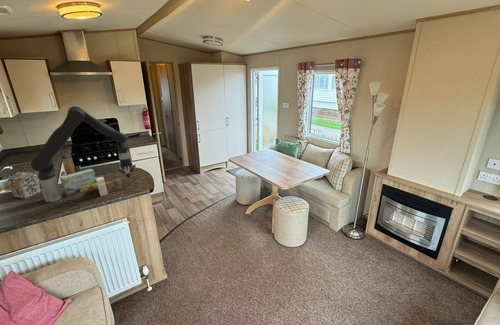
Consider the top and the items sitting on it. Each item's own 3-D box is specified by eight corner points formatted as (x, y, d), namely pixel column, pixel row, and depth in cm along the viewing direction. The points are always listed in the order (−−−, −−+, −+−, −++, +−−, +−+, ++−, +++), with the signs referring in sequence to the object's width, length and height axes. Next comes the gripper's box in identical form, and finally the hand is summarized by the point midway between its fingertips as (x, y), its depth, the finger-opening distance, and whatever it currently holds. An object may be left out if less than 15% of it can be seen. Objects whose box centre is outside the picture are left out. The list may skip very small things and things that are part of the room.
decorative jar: (25, 198, 173) (17, 176, 167) (13, 197, 175) (4, 175, 169) (42, 191, 184) (34, 170, 178) (30, 189, 186) (22, 168, 180)
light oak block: (107, 192, 182) (106, 186, 180) (106, 188, 189) (104, 182, 187) (124, 188, 189) (123, 182, 187) (123, 184, 195) (121, 178, 193)
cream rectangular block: (100, 196, 177) (97, 185, 173) (98, 188, 189) (96, 178, 185) (108, 194, 179) (105, 183, 176) (105, 186, 191) (103, 176, 188)
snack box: (67, 197, 176) (61, 178, 170) (64, 194, 179) (59, 176, 173) (98, 186, 191) (93, 169, 186) (95, 184, 195) (90, 167, 189)
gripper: (116, 160, 180) (120, 181, 187) (134, 157, 187) (138, 177, 194) (114, 157, 186) (118, 177, 192) (132, 154, 193) (136, 174, 199)
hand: (128, 177), depth 193 cm, fingers closed
